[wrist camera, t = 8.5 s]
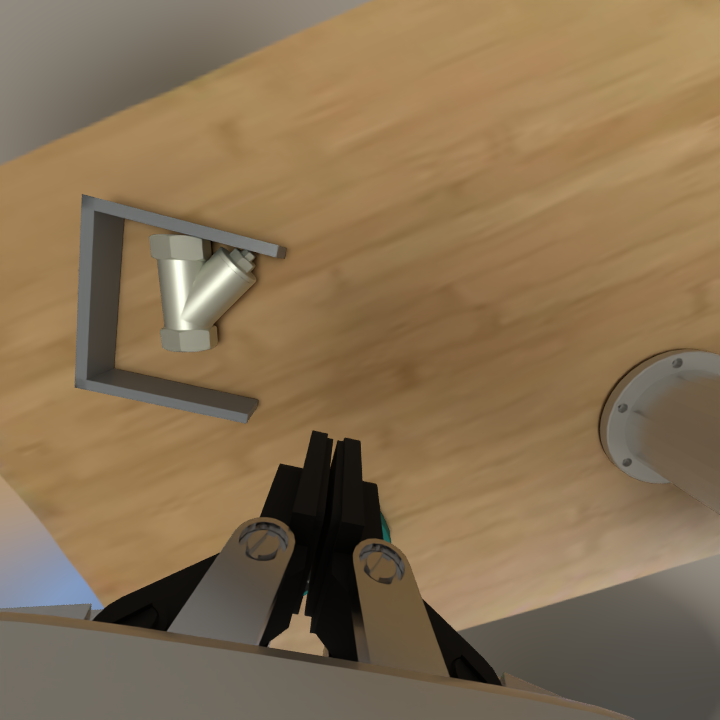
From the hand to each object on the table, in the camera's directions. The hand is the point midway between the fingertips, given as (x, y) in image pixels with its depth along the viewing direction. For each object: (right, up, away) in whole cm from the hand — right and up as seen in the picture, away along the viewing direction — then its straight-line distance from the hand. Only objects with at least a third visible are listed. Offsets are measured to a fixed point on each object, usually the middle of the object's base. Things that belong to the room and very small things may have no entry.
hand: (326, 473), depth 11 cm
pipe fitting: (-10, +9, +15) cm, 21 cm away
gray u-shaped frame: (-12, +7, +15) cm, 21 cm away
